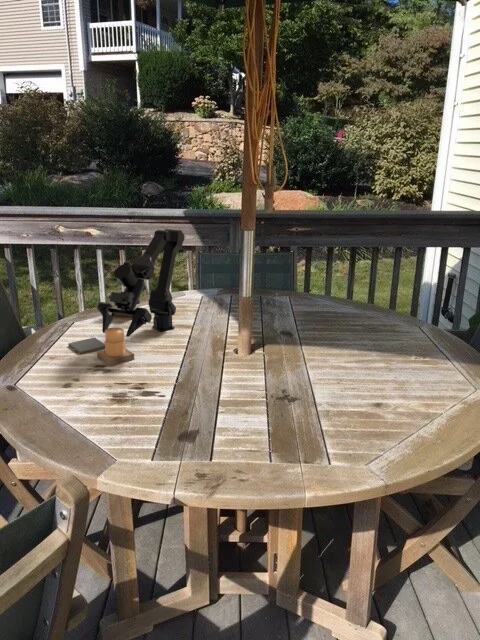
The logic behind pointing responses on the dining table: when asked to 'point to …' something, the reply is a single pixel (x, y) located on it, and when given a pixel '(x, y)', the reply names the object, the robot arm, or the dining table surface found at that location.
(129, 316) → the food container
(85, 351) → the mat
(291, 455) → the dining table surface
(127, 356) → the post stand
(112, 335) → the orange rounded bulb shape
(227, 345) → the dining table surface
